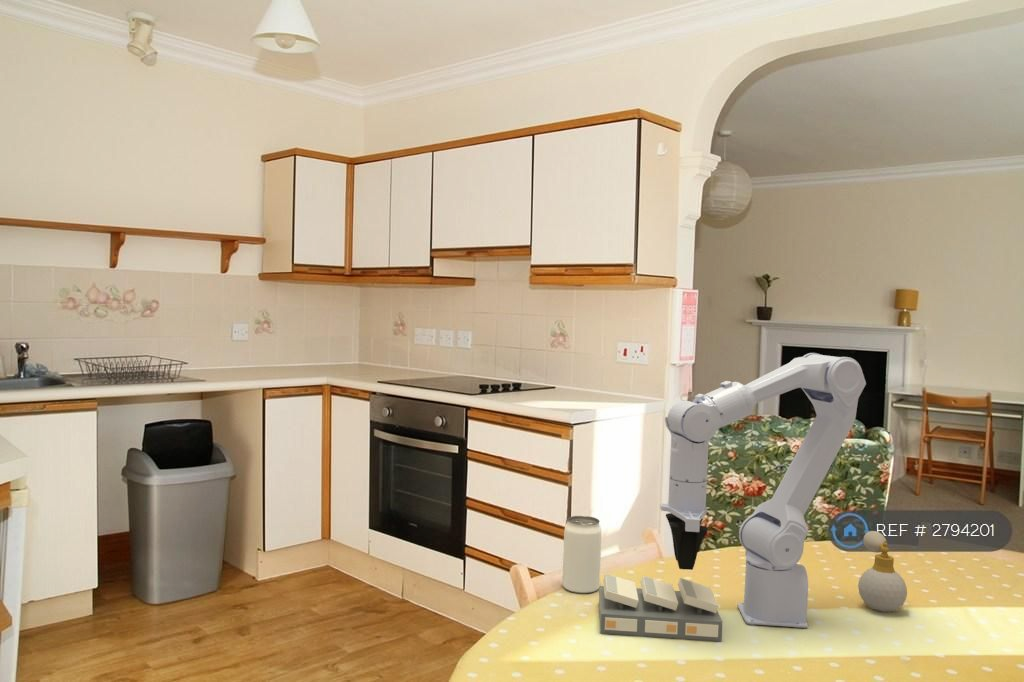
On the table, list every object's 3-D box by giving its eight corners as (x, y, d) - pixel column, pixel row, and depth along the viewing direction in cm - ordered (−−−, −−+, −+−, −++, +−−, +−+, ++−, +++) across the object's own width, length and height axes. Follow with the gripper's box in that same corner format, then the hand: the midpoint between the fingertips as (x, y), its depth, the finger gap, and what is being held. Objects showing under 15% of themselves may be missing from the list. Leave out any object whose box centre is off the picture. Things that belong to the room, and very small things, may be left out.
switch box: (709, 610, 133) (710, 588, 133) (721, 642, 121) (723, 617, 121) (598, 603, 134) (599, 581, 134) (600, 634, 122) (601, 609, 122)
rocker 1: (632, 589, 132) (635, 581, 132) (636, 607, 124) (638, 600, 124) (603, 580, 132) (605, 572, 132) (604, 598, 124) (607, 590, 124)
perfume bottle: (880, 620, 132) (885, 547, 131) (837, 598, 141) (841, 530, 140) (916, 615, 134) (920, 544, 134) (871, 594, 143) (875, 527, 143)
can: (597, 596, 138) (600, 526, 137) (559, 592, 139) (562, 523, 139) (600, 583, 144) (603, 516, 144) (564, 579, 146) (567, 513, 145)
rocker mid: (670, 591, 131) (672, 584, 131) (676, 610, 123) (678, 602, 123) (640, 582, 132) (642, 574, 132) (644, 600, 124) (646, 592, 124)
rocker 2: (707, 594, 131) (710, 586, 131) (716, 613, 123) (718, 605, 123) (677, 584, 131) (680, 577, 131) (684, 603, 123) (686, 595, 123)
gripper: (657, 467, 134) (654, 548, 135) (666, 488, 119) (662, 578, 120) (701, 469, 133) (697, 551, 134) (715, 490, 119) (711, 581, 119)
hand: (684, 564), depth 127 cm, fingers open, 3 cm apart
